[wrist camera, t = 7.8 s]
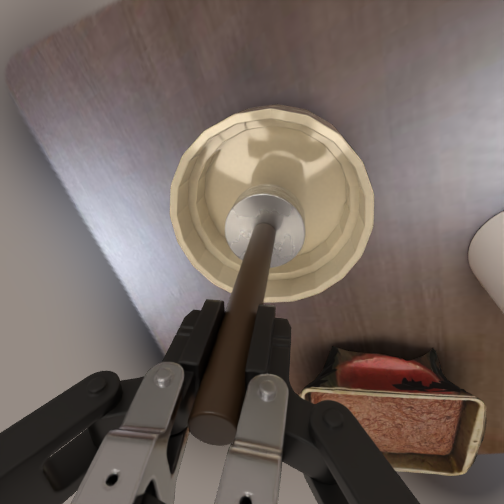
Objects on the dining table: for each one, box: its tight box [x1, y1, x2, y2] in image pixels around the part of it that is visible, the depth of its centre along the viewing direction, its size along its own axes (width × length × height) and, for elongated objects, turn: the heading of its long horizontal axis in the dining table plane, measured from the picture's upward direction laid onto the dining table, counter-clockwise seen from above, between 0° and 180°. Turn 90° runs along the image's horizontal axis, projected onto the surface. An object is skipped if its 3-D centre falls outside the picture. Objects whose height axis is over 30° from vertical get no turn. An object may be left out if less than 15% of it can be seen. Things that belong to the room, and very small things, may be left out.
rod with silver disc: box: [188, 184, 305, 446], centre depth 16 cm, size 6×6×16 cm
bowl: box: [170, 104, 374, 303], centre depth 26 cm, size 15×15×6 cm
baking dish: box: [300, 346, 486, 476], centre depth 34 cm, size 14×18×10 cm
